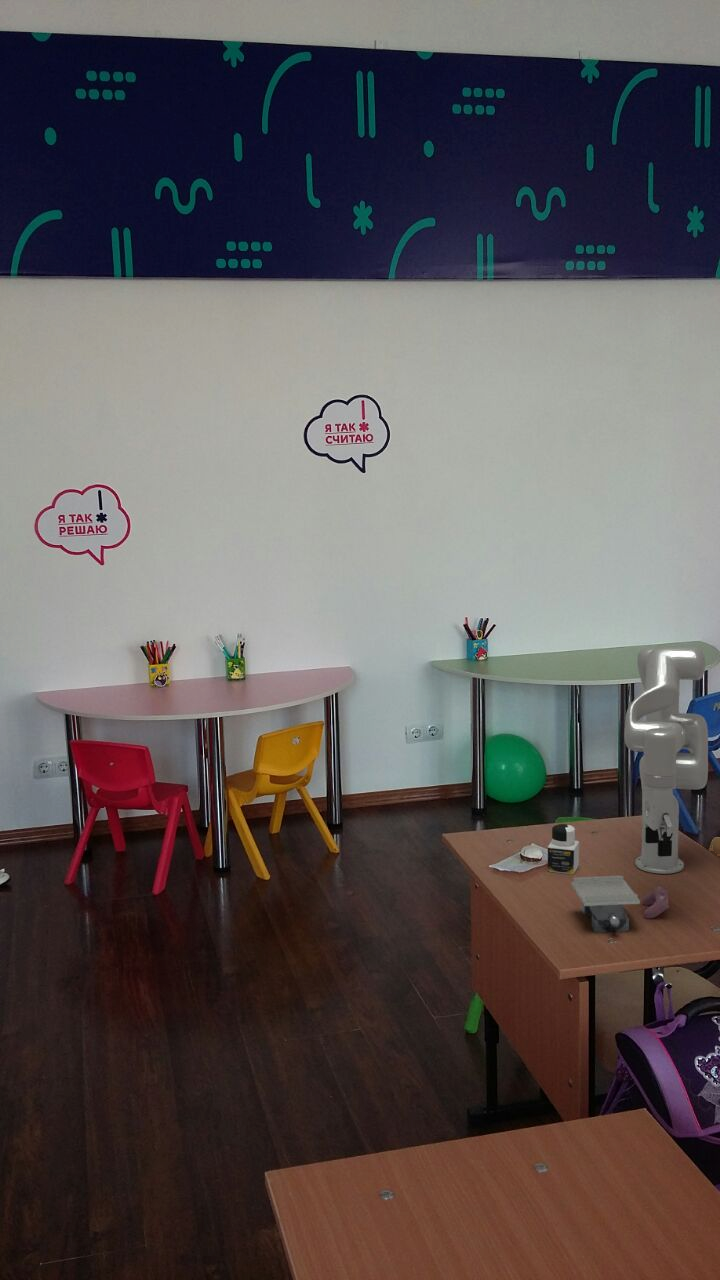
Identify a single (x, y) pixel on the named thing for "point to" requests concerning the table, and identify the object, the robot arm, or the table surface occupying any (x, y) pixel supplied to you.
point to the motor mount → (605, 901)
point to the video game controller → (655, 902)
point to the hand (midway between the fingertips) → (658, 849)
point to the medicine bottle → (563, 850)
